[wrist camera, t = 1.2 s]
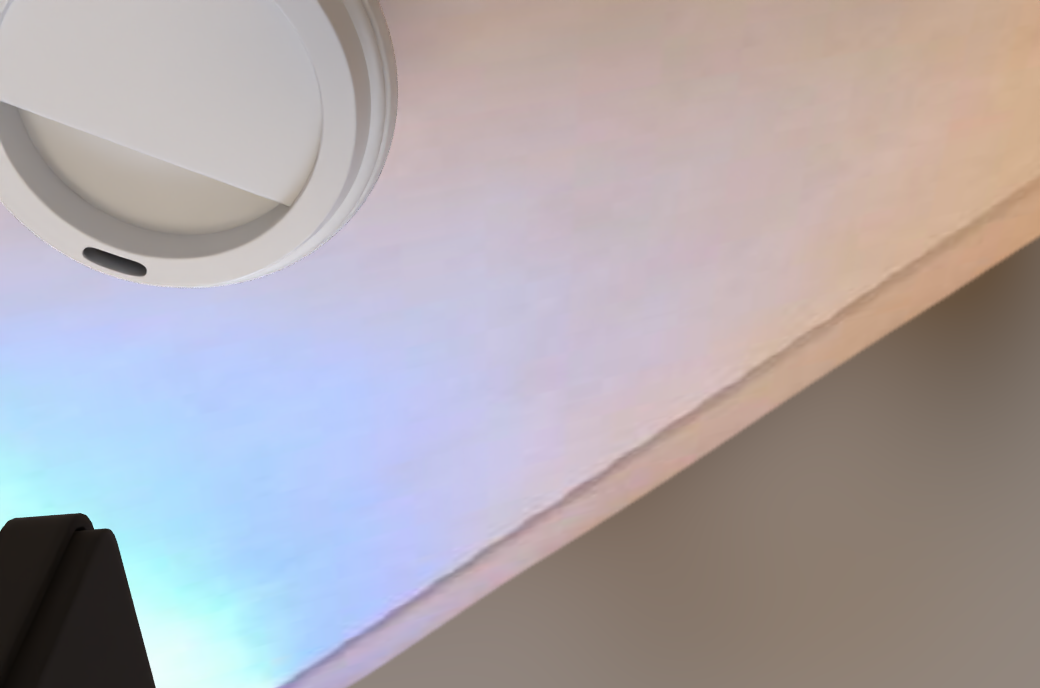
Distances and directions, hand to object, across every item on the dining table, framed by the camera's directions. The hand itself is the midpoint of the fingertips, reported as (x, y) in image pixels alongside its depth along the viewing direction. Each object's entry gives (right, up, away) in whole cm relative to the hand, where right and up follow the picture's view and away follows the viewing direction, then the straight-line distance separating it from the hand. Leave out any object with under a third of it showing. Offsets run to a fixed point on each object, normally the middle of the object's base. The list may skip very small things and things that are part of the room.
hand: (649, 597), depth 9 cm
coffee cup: (-10, +14, +24) cm, 30 cm away
